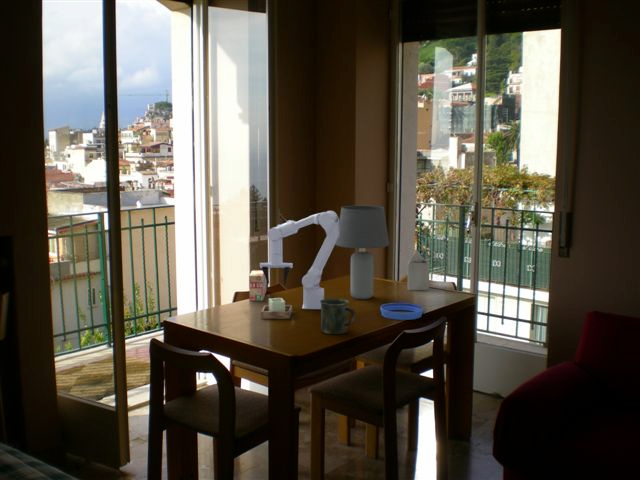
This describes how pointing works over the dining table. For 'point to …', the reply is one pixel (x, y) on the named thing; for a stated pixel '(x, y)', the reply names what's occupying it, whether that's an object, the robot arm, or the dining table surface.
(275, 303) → the box
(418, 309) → the bowl
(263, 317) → the big crate
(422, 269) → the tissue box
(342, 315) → the mug
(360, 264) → the lamp
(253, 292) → the stack of blocks
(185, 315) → the dining table surface
